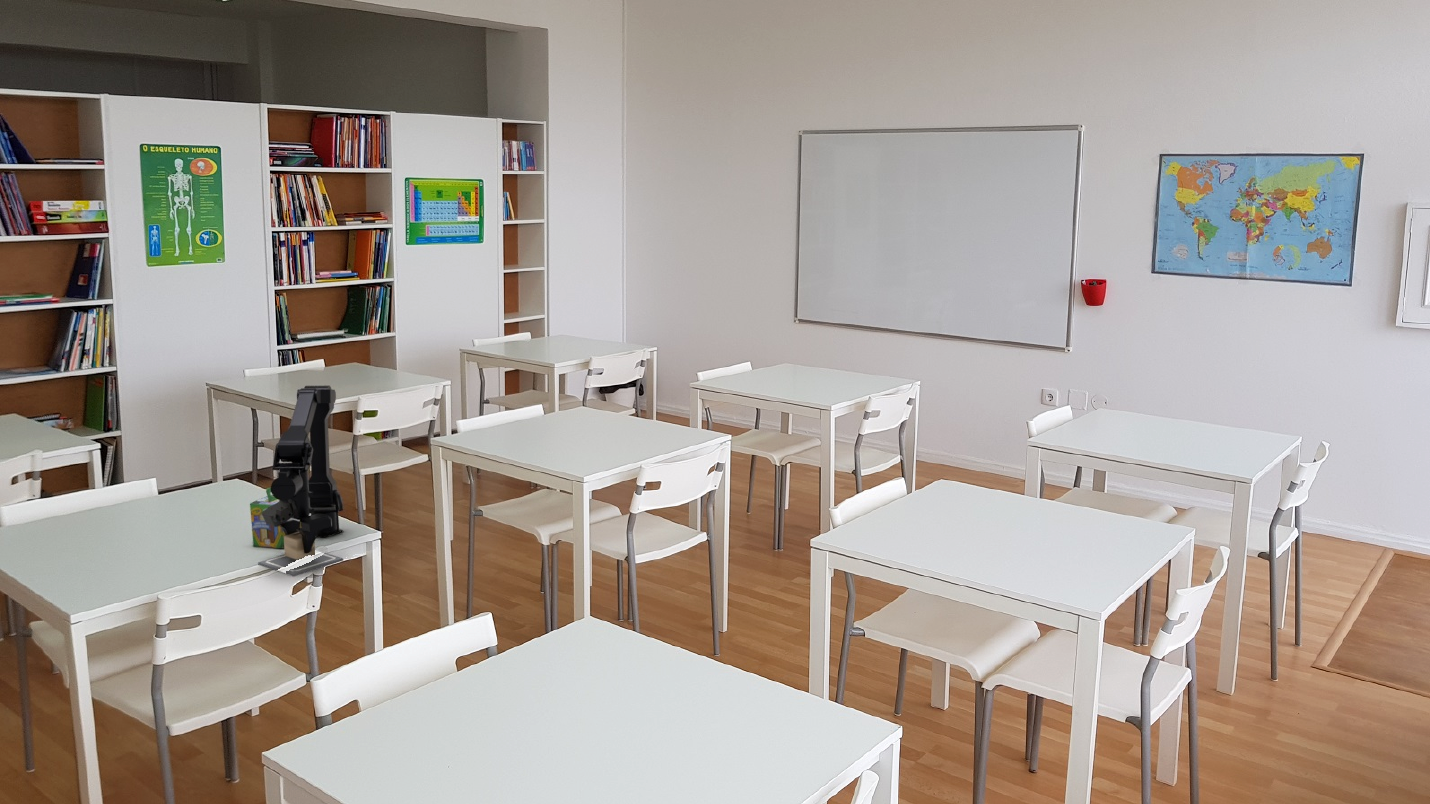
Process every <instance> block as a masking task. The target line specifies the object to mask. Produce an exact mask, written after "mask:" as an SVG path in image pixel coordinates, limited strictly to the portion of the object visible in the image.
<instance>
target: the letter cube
mask: <svg viewBox="0 0 1430 804" xmlns="http://www.w3.org/2000/svg"><path fill="white" fill-rule="evenodd" d="M315 543H316V542H315V541H314V544H313V546H312V548H311V550H310V552H309V553H307V554H306V553H305V551H304V547H303V541H302V535H301V533H300V532H296V533H293V534H289V535H286V536H284V548H283V549H284V554H285V556H287V557H290V558H294V559H297V560H299V559H302V558H304V557H305V556H308V555H311V556H312V555H315V550H316V544H315Z"/></svg>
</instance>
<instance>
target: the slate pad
mask: <svg viewBox="0 0 1430 804" xmlns="http://www.w3.org/2000/svg"><path fill="white" fill-rule="evenodd" d="M296 560H297V559H294V558H290V557H287V556H285V553H284V554H282V555H279V556H275V557H271V558H268V559H265V560H261V561H259V562H257V564H258V566H262V567H265V568H267V569H270V570H273V571H276V570H278V569H280V568H281V567H286V566H288V564H290V563H292V562H295V561H296ZM343 561H344V558H343V557H340V556H337V555H333V554H331V553H327V552H325V553H324V554H323V555H322V556H320V557H318V558H316V559H314V560H312V561H311V562H309V563H306V564H304V565H302V566H299V567H297V568H294V569H290V570H289V571H286V574H285V575H287V576H290V577H291V576H292V577H296V576H298V575H302V574H305V573H308V572H311V571H314V570H318V569H322V568H324V567H328V566H330V565H335V564H336V563H337V564H338V563H341V562H343Z"/></svg>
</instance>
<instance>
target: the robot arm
mask: <svg viewBox="0 0 1430 804" xmlns="http://www.w3.org/2000/svg"><path fill="white" fill-rule="evenodd" d="M296 391H297V392H296V403H295V407H294V410H293V412H292V416H291V417H292V418H291V420H290V424H289V426H288V429H287V430H285V431H284V432H282V433H281V435H280V438H279V440H278V442H277V443H276V444H275V447H274V449H275V450H274V456H273V461H272V463H273V464H272V471H278V472H277V474H278V475H277V477H276V478H275V479H274V480H273V481H272V483H271V484H270V487H269V488H270V490H271V495H273V496H274V497H275V498H276V499H278V500H279V502H278V503H276V504H273V505H272V506H270V507H268V508H267V509H266V510H264V511H263V512H262V516H263V518H264V520H265V522H266V524H267V525H272V526H273V527H278V526H280V527H281V528H282V529H283V531H284V533H285V535H289V534H293V533H296V532H300V533H301V535H302V541H303V547H304V551H305V553H306V554H307V553H309V552H310V550H311V548H312V546H313V544H314V541H315V540H316V539H317V537H319V538H322V539H323V538H326V537H327V538H328V537H330V536H334V535H337V534H340V533H343V532H344V530H343V529H341V528H340V519H339V518H340V517H339V512H342V511H344V503H343V502H344V501H343V500H344V499H343V498H342V495H341V493H340V491H339V489H338V485H337V481H336V480H335V478H334V477H333V476H332V474H331V466H330V445H329V444H330V442H329V417H330V416H331V414H332V412H333V411H334V408H335V403H336V400H337V394H336V393H337V392H336V390H335V389H332V386H331V385H326V384H325V385H305V386H304V387H302V388H300V389H297V390H296ZM309 466H310V469H311V470H310V473H311V474H310V475H311V476H310V477H309V471H308V470H309ZM300 522H301V527H302V528H300Z"/></svg>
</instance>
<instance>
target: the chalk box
mask: <svg viewBox="0 0 1430 804" xmlns="http://www.w3.org/2000/svg"><path fill="white" fill-rule="evenodd" d="M265 492H266V496H263V497H261V498H259V499H257V500H254V501H252V502H250V503H249V507H250V519H251V520H250V521H251V532H252V533H251V534H252V546H253V547H261V548H262V547H263V548H274V549H283V550H284V549H285V548H284V536H286V535H285V533H284V531H283V529H282V528H281V527H280V526H278V527H273V526H272V525H267V524H266V522H265V520H264V518H263V516H262V512H263V511H264V510H266V509H267V508H268V507H270V506H272V505H273V504H276V503H278V502H279V500H278V499H276V498H275V497H274V496H273V495H272V493H271V490H270V487H268V488H266V489H265ZM300 528H302V527H301V522H300Z"/></svg>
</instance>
